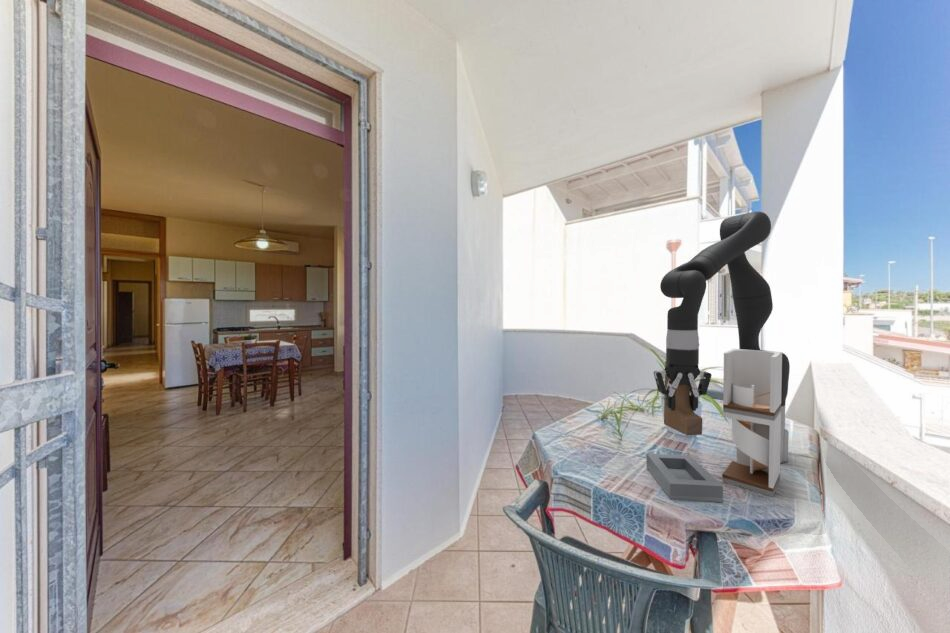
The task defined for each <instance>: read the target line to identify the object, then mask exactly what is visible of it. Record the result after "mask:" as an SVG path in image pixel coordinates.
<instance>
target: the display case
mask: <svg viewBox="0 0 950 633" xmlns="http://www.w3.org/2000/svg"><path fill="white" fill-rule="evenodd" d="M782 353H783V352H782V351H775V350H774V351H772V350H766V351H759V350H745V349H739V348H733V349H730V350H728V351H726V352H725V351H724V352H723V391H722V393H723V394H722V395H723V397H722V398H723V399H722V400H723V401H722V403H723V404H722V406H723V407H722V408H723V409H722V417H723V418H727V419H731V439H732V442H733V444H734V445H735V447H736V460H731V462H730V463H729V465H728V466H727V468H726V469H725V470H724V471H723V473H721V474H722V476H721V478H722V479H721V481H722V482H723V483H725V484H730V485H733V486H736V485H737V486H736V487H739V486H741V487H740V488H742V487H744V488H743V489H746V488H747V489H746V490H749V489H750V491H753V492H756V493H759V494H763V495H767V496H770V497H772V498H773V497H774V495H775V492H776V491H777V488H778V486H779V483H780V481H781V463H780V441H781V387H782Z"/></svg>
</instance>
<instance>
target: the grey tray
mask: <svg viewBox="0 0 950 633" xmlns="http://www.w3.org/2000/svg"><path fill="white" fill-rule="evenodd" d="M646 468H647V469H648V471H649V472H650V474H651V475H652V477H653V478H654V479H655V480H656V483H658V484H659V487H661V489H662V491H664V493H665V494H666V496H667V497H668V499H669V500H675V501H676V500H679V501H693V502H694V501H695V502H710V503H711V502H713V503H723V502H724V486H723V484H721V483H720V482H719V481H718V480H717V479H716V478H715V477H714V476H713V475H711V473H709V471H707V469H705V468H704V467H703V466H702V465H701V464H700V463H699V462H698V461H697V460H695V458H693V456H691V455H688V454H685V455H684V454H664V453H646Z"/></svg>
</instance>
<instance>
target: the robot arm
mask: <svg viewBox="0 0 950 633" xmlns="http://www.w3.org/2000/svg"><path fill="white" fill-rule="evenodd" d="M771 230H772V222H771V219H770V217H769V215H768V214H766V213H765V212H763V211H750V212H747V213H742V214H738V215H733V216H729V217H727V218H724V219H723V220H722V221H721V223H720V225H719V238H720V240H719V241H717V242H714V243H713V244H711V245H709V246H707V247H705V248H704V249H702V250H701V251H699V252H698V253H697V254H696V255H694V256H693V257H692V258H691V259H689V261H687V262H685V263H683V264H681V265H679V266H677V267H674V268H672V269H671V270H670V271H668V272H667V273H665V275H664V276H663V277H662V279H661V281H660V285H659V288H660V291H661V293H662V294H663V295H664V296H665V297H667V298H669V299H670V298H671V299H682V300H681V303H680V305H678V306H675V307H671V308H668V311H667V316H666V317H667V324H666V325H667V326H666V327H667V328H666V337H665V338H666V339H665V361H666V367H665V366H664V370H663V369H662V370H659V371H657V370H654V371H653V377H654V380H655V384H656V387H657V391H658V392H659V393H661V394H662V395H666V406H667V407H668V409H669V410H674V397H673V395H674V392H675V390H676V389H677V387H678V385H683V384H684V385H688V386H689V388H690V405H691V408H692V411H694V412H696V410H697V409H699V397H700V396H705V395H707V392H708V389H709V386H710V382H711V380H712V373H711V372H708V371H705V370H703V371H702V370H701V369H700V368H699V361H700V360H699V358H700V356H699V353H700V350H699V349H700V336H699V327H698V326H699V324H698V323H699V313H700V312H699V311H700V309H701V306H702V303H703V299H704V296H705V294H706V290H707V281H708V280H710V279H712V278H713V277H714V276H715V275H716V274H718V273H719V272H720V271H721V270H722V269H723V268H725V266H727V268H728V274H729V280H730V285H731V294H732V300H733V306H734V311H735V317H736V324H737V332H738V344H739V348H738V349H745V350H759V351H767V350H763V349H761V348H760V341H759V340H760V334H761V331H762V329H763V327H764V325H765V324H766V323H767V321H768V320H769V319H770V318H769V317H770V316H771V314H772V311H773V309H774V308H773V307H774V306H773V304H774V303H773V296H772V290H771V287H770V284H769V283H768V281H767V280H766V279H765V278H764V277H763V276H762V275H761V274H760V273H759V272H758V271H757V270H756V269H755V267H753V265H751V263H750V261H749V260H748V258H747V255H746V252H747V251H749V250H750V249H752V248H754V247H756V246H757V245H759V244H761V243H762V242H764V241H766V239H768V237H769V236H770V233H771ZM790 368H791V366H790V360H789V357H788V356H787V354H785V353H784V352H782V387H781V441H780V464H782V463H787V462H789V430H788V429H787V428H786V400H787V397H788V394H789V393H788V392H789V380H790ZM665 374H666V375H667V376H668V378H669V381H668V383H667V388H666V389H665V381H664V380H665ZM698 377H699V383H698V386H697V383H696V380H697V378H698ZM671 382H673V384H671Z"/></svg>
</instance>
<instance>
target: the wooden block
mask: <svg viewBox="0 0 950 633" xmlns="http://www.w3.org/2000/svg"><path fill="white" fill-rule="evenodd" d="M665 367H666V360H665V361H664V368H665ZM668 381H669V378H668V376H667V375H666V374H665V378H664V385H665V389H666V388H667V383H668ZM671 384H673V382H671ZM663 395H664V396H663V397H664V404H663V405H664V407H663V408H664V409H663V424H664V425H665V426H667V427H669V428H671V429H672V430H675V431H677V432H679V433H682V434H684V435H685V436H699V435H703V417H702V416H700V415H698V414H697V413H695V411H692V408H691V405H690V395H691V394H690V388H689V386H688V385H684V384H683V385H678V387H677V389H676V390H675V392H674V395H673V397H674V410H669V409H668V407H667V406H666V395H665V394H663Z"/></svg>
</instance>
